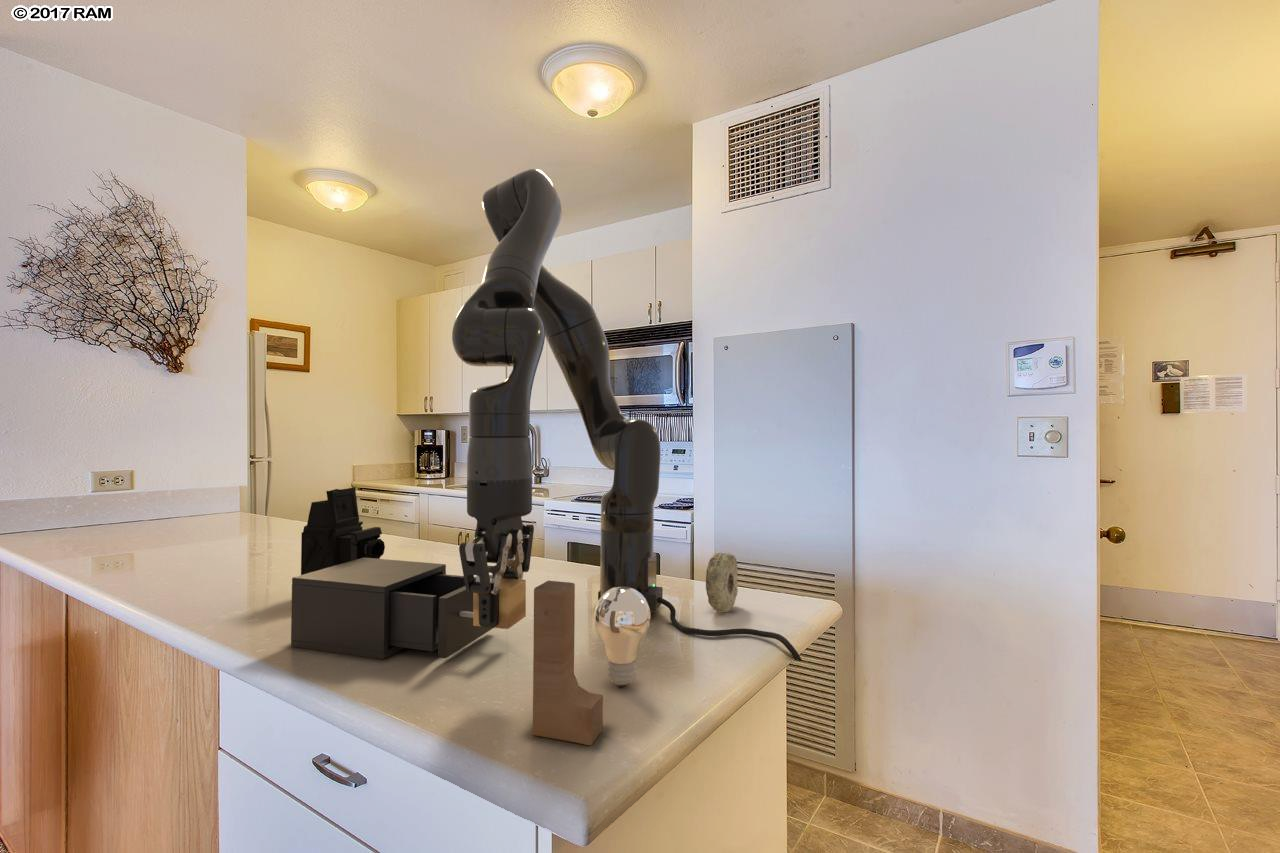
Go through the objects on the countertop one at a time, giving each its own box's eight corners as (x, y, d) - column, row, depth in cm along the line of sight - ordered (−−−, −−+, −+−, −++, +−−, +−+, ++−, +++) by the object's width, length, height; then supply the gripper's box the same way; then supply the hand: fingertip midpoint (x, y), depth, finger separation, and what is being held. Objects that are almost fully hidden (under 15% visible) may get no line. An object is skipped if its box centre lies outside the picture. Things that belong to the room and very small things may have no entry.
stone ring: (721, 620, 93) (721, 559, 93) (701, 616, 95) (701, 557, 95) (742, 604, 102) (742, 549, 102) (723, 601, 104) (723, 547, 104)
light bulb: (596, 672, 72) (597, 579, 73) (650, 673, 72) (651, 580, 72) (589, 698, 66) (590, 594, 66) (649, 699, 65) (650, 595, 65)
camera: (359, 607, 98) (361, 492, 98) (292, 602, 101) (294, 489, 101) (395, 592, 108) (396, 487, 108) (333, 587, 111) (335, 485, 111)
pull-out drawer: (521, 630, 85) (521, 577, 85) (475, 662, 73) (475, 601, 73) (413, 617, 90) (414, 568, 90) (354, 646, 78) (354, 589, 78)
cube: (526, 616, 69) (525, 579, 69) (508, 629, 64) (508, 589, 64) (492, 613, 70) (492, 577, 70) (472, 625, 65) (472, 587, 65)
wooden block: (531, 735, 57) (533, 587, 57) (546, 719, 60) (547, 579, 61) (591, 746, 55) (592, 593, 56) (603, 730, 58) (604, 585, 59)
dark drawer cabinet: (445, 626, 89) (446, 564, 89) (383, 659, 76) (384, 586, 76) (362, 616, 94) (363, 557, 94) (290, 646, 80) (291, 577, 80)
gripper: (501, 470, 75) (501, 599, 75) (435, 479, 61) (435, 637, 61) (553, 471, 73) (553, 603, 73) (498, 481, 59) (498, 644, 59)
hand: (500, 618), depth 67 cm, fingers closed on cube, 4 cm apart
